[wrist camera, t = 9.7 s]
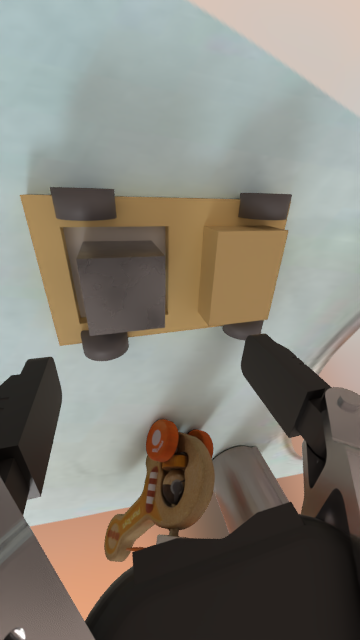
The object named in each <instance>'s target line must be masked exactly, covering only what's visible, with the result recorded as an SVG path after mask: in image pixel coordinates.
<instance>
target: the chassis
mask: <svg viewBox="0 0 360 640" xmlns="http://www.w3.org/2000/svg"><path fill="white" fill-rule="evenodd" d="M50 190H51V195H30V194H26V195H20V197H21V201H22V204H23V208H24V212H25V216H26V220H27V223H28V227H29V231H30V235H31V239H32V242H33V246H34V250H35V254H36V257H37V261H38V265H39V269H40V273H41V276H42V280H43V284H44V288H45V291H46V295H47V299H48V303H49V307H50V310H51V314H52V318H53V322H54V326H55V329H56V333H57V337H58V341H59V344H60V346H62V345H70V344H79V343H82V345H83V349H84V354H85V355H86V357H88V358H89V359H92V360H95V361H108V360H112V359H115V358H118V357H120V356H122V355H123V354H124V353H125V352H126V351H127V350H128V347H129V344H128V337H135V336H143V335H151V334H159V333H168V332H176V331H184V330H192V329H200V328H208V327H216V326H223V331H224V332H225V333H226V334H227V335H229V336H231V337H233V338H236V339H240V340H246V338H247V336H249V335H256V334H261V329H262V325H263V321H264V320H267V319H268V315H269V311H270V307H271V303H272V298H273V294H274V290H275V286H276V281H277V277H278V273H279V269H280V264H281V260H282V256H283V252H284V247H285V243H286V239H287V235H288V230H285V225H286V221H287V216H288V212H289V208H290V203H291V197H292V195H291V194H263V193H241V194H240V199H208V198H163V197H119V196H115V194H114V189H97V188H62V187H50ZM148 240H151V241H152V242H153V243H154V244H155V245H156V246H157V247H158V248H159V250H160V251H161V252H162V253H163V254H164V255H165V328H158V329H149V330H140V331H131V332H122V333H113V334H104V335H95V336H90V334H89V329H88V323H87V317H86V312H85V306H84V300H83V295H82V289H81V283H80V278H79V272H78V266H77V261H76V258H77V256H78V253H79V251H80V248H81V245H82V243H83V242H84V241H148Z"/></svg>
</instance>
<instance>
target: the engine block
mask: <svg viewBox="0 0 360 640" xmlns="http://www.w3.org/2000/svg"><path fill="white" fill-rule="evenodd" d="M76 261H77V266H78V272H79V278H80V283H81V289H82V295H83V300H84V306H85V312H86V317H87V323H88V329H89V334H90V336H95V335H104V334H113V333H122V332H131V331H140V330H149V329H158V328H165V255H164V254H163V253H162V252H161V251H160V250H159V248H158V247H157V246H156V245H155V244H154V243H153V242H152V241H151V240H148V241H84V242H83V243H82V245H81V248H80V251H79V253H78V256H77V258H76Z"/></svg>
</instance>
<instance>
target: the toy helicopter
mask: <svg viewBox="0 0 360 640" xmlns="http://www.w3.org/2000/svg"><path fill="white" fill-rule="evenodd" d="M146 451H147V454H148V456H147V458H146V468H147V475H146V479H145V485H144V489H143V492H142V494H141V496H140V497H139V498H138V500H137V501H136V502H135V503H134V504H133V505H132V506H131V507H130V508H129V510H128V511H127V512H126V513H125V514H117V515H115V516H114V517H113V518H112V520H111V522H110V523H109V526H108V529H107V532H106V536H105V545H104V547H105V554H106V557H107V559H108V560H110V561H116V562H117V561H118V562H122V561H124V560H125V559H126V558H127V557H128V555H129V554H130V551H138V550H141V549H144V548H143V547H139V548H138V547H133V548H132V546H133V543H134V542H135V540H136V539H137V538H139V537H140V536H141V535H142V534H143V533H145V532H146V531H147V530H148V529H149V528H151V527H152V526H153V525H154V524H156V525H157V526H159V527H161V528H166V529H169V531H170V533H169V535H158V536H157V543H156V545H157V544H160V543H163V542H166V541H169V540H172V539H175V538H186V537H179V536H178V532H179V530H182V529H185V528H188V527H190V526H191V525H193V524H194V523H195V522H197V521H198V520H199V519H200V518H201V516H202V515H203V513H204V512H205V510H206V508H207V507H208V505H209V502H210V500H211V497H212V494H213V490H214V483H215V473H214V466H213V462H212V455H213V443H212V440H211V438H210V436H209V435H208V434H207V433H206V432H204V431H201V430H192V431H191V432H189V433H188V434H185V433H181V432H178V429H177V427H176V425H175V424H174V423H173V422H171V421H168V420H165V419H160V420H158V421H156V422H155V423H154V424H153V425H152V427H151V429H150V431H149V433H148V436H147V441H146Z"/></svg>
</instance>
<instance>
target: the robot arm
mask: <svg viewBox="0 0 360 640" xmlns="http://www.w3.org/2000/svg"><path fill="white" fill-rule="evenodd" d="M241 369H242V373H243V375H244V377H245V378H246V380H247V381H248V382H249V384H250V385H251V386H252V388H253V389H254V391H255V392H256V393H257V395H258V396H259V397H260V399H261V400H262V402H263V403H264V404H265V406H266V407H267V408H268V410H269V411H270V413H271V414H272V415H273V417H274V418H275V419H276V421H277V422H278V424H279V425H280V426H281V428H282V429H283V430H284V432H285V433H286V435H287V436H288V437H289V438H291V437H295V436H299V435H301V436H302V437H303V438H304V441H303V443H302V455H303V475H304V501H303V506H302V511H301V514H298V513H297V511H296V509H295V508H294V506H293V504H292V503H291V502H289V501H288V499H287V497H286V496H285V494H284V492H283V490H282V489H281V487H280V485H279V484H278V482H277V480H276V478H275V477H274V475H273V473H272V472H271V470H270V468H269V467H268V465H267V463H266V462H265V460H264V458H263V456H262V455H261V453H260V451H259V450H258V448H257V447H252V448H251V447H247V446H239V447H234V448H231V449H229V450H226V451H224V452H223V453H221V454H220V455H218V456H217V457H216V458H215V459H213V461H212V462H213V466H214V473H215V483H214V492H215V495H216V498H217V501H218V504H219V506H220V509H221V512H222V515H223V517H224V520H225V523H226V525H227V528H228V531H229V535H228V536H227V537H225V538H223V539H193V538H175V539H172V540H169V541H166V542H163V543H160V544H157V545H153V546H150V547H147V548H144V549H141V550H138V551H135V552H133V567H131V568H130V569H128V570H127V571H126V572H124V573H123V574H122V575H121V576H120V577H119V578H118V579H116V580H115V581H114V582H113V583H112V584H111V585H110V587H109V588H108V589H107V590H106V591H105V592H104V594H103V595H102V596H101V597H100V599H99V600H98V602H97V603H96V604H95V606H94V607H93V609H92V610H91V612H90V613H89V615H88V617H87V619H86V620H85V621H84V620H83V618H82V616H81V615H80V613H79V611H78V609H77V608H76V606H75V604H74V603H73V601H72V599H71V597H70V596H69V594H68V592H67V590H66V589H65V587H64V585H63V583H62V582H61V580H60V578H59V577H58V575H57V573H56V571H55V570H54V568H53V566H52V565H51V563H50V561H49V559H48V558H47V556H46V555H45V552H44V551H43V549H42V547H41V545H40V544H39V542H38V540H37V539H36V537H35V535H34V533H33V532H32V530H31V528H30V527H29V525H28V523H27V522H26V520H25V519H24V517H23V513H24V509H25V506H26V502H27V500H28V499H32V498H37V497H41V493H42V489H43V484H44V480H45V475H46V471H47V466H48V462H49V457H50V453H51V448H52V444H53V439H54V435H55V430H56V426H57V421H58V417H59V413H60V408H61V403H62V390H61V385H60V382H59V378H58V374H57V370H56V366H55V362H54V359H53V358H52V357H44V358H35V359H28V360H27V362H26V364H25V366H24V368H23V370H22V372H21V374H19V375H12V376H10V377H9V378H8V379H7V380H6V381H5V382H4V383H3V384H2V385H0V640H360V395H358V394H357V393H355V392H353V391H350V390H347V389H344V388H338V387H333V388H332V387H330V386H329V385H328V384H327V383H326V382H325V381H324V380H323V379H321V378H320V377H319V376H318V375H317V374H316V373H315V372H314V371H312V370H311V369H310V368H309V367H308V366H307V365H306V364H305V365H304V363H303V362H302V361H301V360H300V359H299V358H297V356H296V355H294V354H293V353H292V352H291V351H290V350H289V349H287V348H285V347H283V346H282V345H280V344H278V343H276V342H275V341H273V340H272V339H271V338H270V337H269V336H268V335H267V334H256V335H249V336H247V338H246V341H245V346H244V351H243V356H242V361H241Z"/></svg>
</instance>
